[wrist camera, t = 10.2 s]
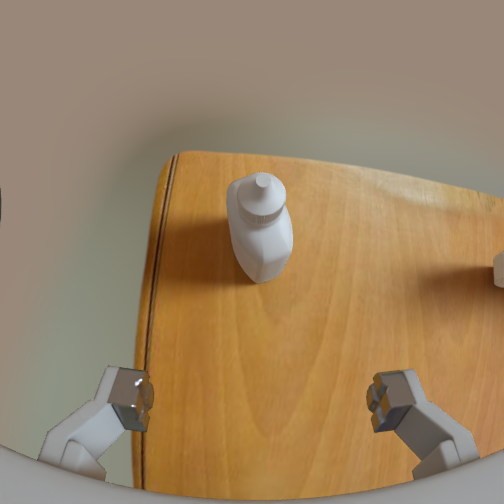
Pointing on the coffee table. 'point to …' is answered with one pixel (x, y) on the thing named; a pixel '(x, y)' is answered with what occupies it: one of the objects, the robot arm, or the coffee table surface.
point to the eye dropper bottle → (259, 225)
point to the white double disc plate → (499, 269)
